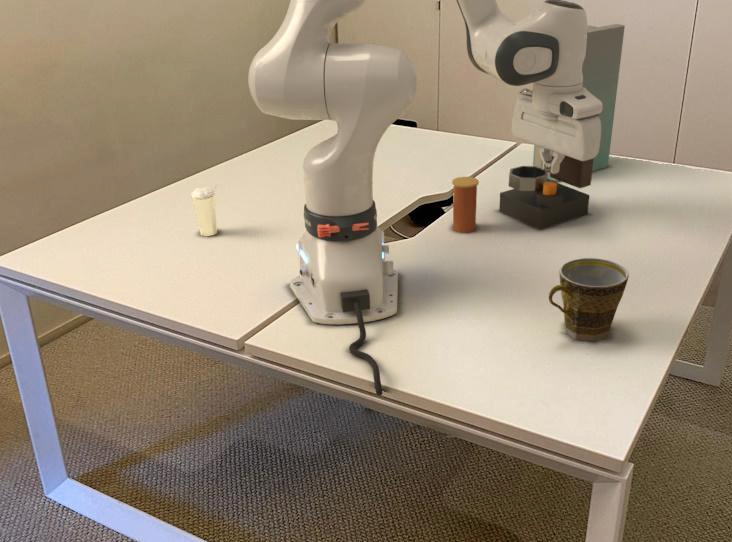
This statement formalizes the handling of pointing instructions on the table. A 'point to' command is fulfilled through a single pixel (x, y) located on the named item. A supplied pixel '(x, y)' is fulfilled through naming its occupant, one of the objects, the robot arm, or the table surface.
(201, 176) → the table surface
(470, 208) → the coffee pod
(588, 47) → the device
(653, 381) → the table surface
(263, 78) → the robot arm
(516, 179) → the coffee maker
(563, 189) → the base
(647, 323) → the table surface
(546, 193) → the power button
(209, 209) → the milkshake
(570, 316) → the ceramic cup
